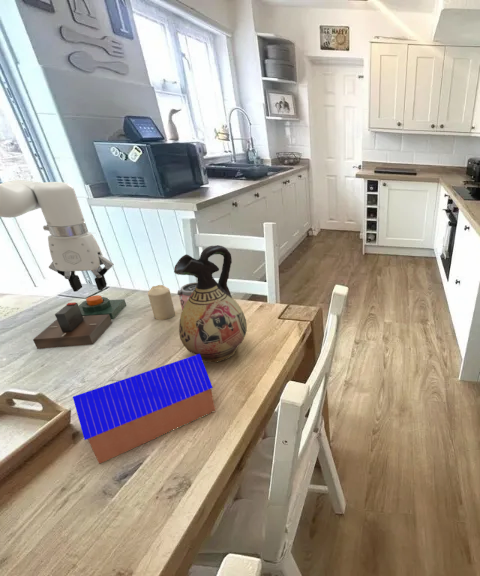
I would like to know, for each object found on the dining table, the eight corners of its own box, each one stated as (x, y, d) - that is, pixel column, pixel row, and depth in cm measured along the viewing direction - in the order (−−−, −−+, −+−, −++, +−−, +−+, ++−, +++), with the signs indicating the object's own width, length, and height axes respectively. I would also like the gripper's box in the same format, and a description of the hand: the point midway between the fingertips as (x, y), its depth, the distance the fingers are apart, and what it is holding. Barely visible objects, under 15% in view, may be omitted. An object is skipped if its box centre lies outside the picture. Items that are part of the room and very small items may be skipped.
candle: (166, 321, 98) (158, 291, 94) (150, 318, 99) (141, 289, 95) (179, 312, 103) (172, 284, 99) (163, 310, 104) (156, 281, 100)
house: (217, 411, 69) (208, 368, 64) (97, 466, 57) (74, 418, 52) (200, 380, 77) (191, 340, 72) (91, 422, 65) (71, 377, 60)
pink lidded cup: (181, 318, 100) (172, 283, 95) (210, 311, 105) (204, 277, 100) (188, 332, 94) (180, 295, 89) (219, 323, 99) (213, 288, 94)
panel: (37, 349, 83) (32, 339, 82) (62, 326, 93) (58, 316, 91) (92, 344, 86) (89, 334, 85) (112, 322, 96) (109, 313, 94)
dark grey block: (71, 331, 86) (63, 312, 83) (62, 332, 85) (54, 313, 83) (84, 319, 91) (77, 301, 88) (75, 320, 90) (68, 302, 88)
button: (85, 306, 96) (83, 301, 95) (91, 300, 99) (89, 295, 99) (99, 305, 97) (97, 300, 96) (105, 300, 100) (103, 295, 99)
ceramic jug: (199, 380, 77) (172, 264, 64) (177, 350, 86) (150, 243, 73) (265, 352, 88) (254, 248, 76) (240, 328, 98) (226, 232, 85)
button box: (69, 322, 94) (64, 310, 93) (85, 307, 102) (81, 296, 100) (113, 319, 97) (109, 308, 96) (126, 305, 105) (123, 294, 103)
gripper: (19, 233, 83) (46, 296, 91) (99, 233, 87) (118, 293, 95) (39, 226, 89) (63, 285, 97) (112, 226, 94) (129, 282, 102)
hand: (90, 288), depth 96 cm, fingers open, 5 cm apart
